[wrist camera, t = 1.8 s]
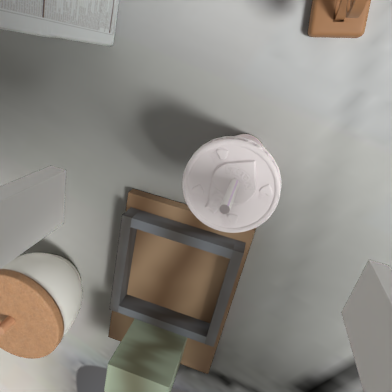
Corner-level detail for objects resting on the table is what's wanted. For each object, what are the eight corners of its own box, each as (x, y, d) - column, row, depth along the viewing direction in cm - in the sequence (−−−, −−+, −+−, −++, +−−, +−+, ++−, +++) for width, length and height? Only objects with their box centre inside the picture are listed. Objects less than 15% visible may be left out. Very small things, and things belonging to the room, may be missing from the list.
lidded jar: (48, 316, 43) (-9, 377, 34) (6, 248, 40) (-67, 295, 32) (112, 303, 39) (66, 366, 31) (71, 227, 36) (8, 273, 28)
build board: (256, 225, 31) (248, 281, 23) (209, 365, 39) (191, 445, 30) (133, 188, 33) (83, 227, 24) (113, 329, 41) (70, 395, 32)
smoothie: (296, 150, 28) (312, 214, 15) (247, 200, 30) (226, 291, 18) (239, 102, 27) (207, 126, 15) (196, 157, 30) (136, 218, 17)
